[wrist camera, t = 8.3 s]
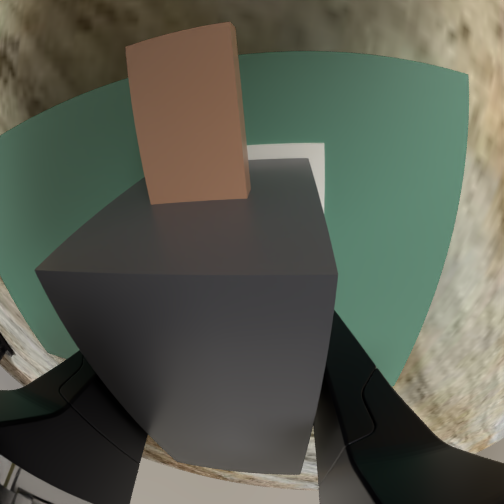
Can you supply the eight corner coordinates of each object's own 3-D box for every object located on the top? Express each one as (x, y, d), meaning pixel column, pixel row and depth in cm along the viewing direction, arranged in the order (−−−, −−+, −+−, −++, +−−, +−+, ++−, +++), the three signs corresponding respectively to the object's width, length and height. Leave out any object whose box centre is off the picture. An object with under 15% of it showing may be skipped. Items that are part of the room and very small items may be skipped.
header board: (388, 364, 13) (402, 435, 10) (57, 338, 17) (28, 383, 13) (444, 74, 6) (537, 82, 2) (-22, 154, 9) (-78, 186, 6)
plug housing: (303, 361, 11) (299, 474, 7) (205, 358, 12) (176, 461, 8) (301, 44, 5) (327, -41, 1) (140, 68, 6) (-16, 80, 2)
